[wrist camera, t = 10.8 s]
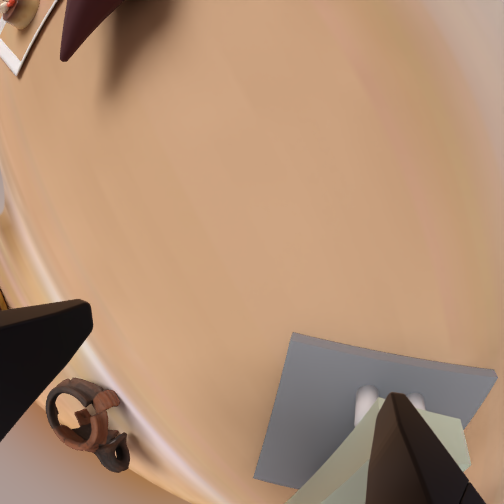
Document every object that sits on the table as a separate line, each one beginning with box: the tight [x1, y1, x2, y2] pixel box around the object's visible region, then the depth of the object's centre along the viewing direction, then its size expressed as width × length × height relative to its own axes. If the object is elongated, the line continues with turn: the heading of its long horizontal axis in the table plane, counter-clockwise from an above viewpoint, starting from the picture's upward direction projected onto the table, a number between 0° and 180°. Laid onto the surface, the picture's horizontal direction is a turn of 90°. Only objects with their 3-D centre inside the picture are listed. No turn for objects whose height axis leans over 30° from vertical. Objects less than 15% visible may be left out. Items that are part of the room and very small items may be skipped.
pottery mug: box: [46, 378, 130, 473], centre depth 28 cm, size 12×10×8 cm
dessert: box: [0, 0, 58, 76], centre depth 18 cm, size 12×12×5 cm
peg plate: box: [253, 332, 498, 489], centre depth 20 cm, size 16×18×4 cm
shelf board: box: [285, 397, 471, 504], centre depth 16 cm, size 6×16×4 cm, turn 164°
